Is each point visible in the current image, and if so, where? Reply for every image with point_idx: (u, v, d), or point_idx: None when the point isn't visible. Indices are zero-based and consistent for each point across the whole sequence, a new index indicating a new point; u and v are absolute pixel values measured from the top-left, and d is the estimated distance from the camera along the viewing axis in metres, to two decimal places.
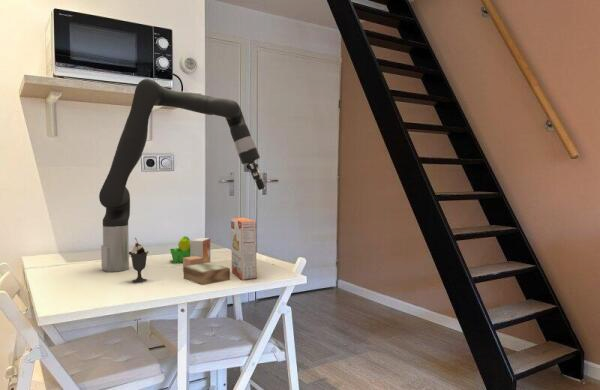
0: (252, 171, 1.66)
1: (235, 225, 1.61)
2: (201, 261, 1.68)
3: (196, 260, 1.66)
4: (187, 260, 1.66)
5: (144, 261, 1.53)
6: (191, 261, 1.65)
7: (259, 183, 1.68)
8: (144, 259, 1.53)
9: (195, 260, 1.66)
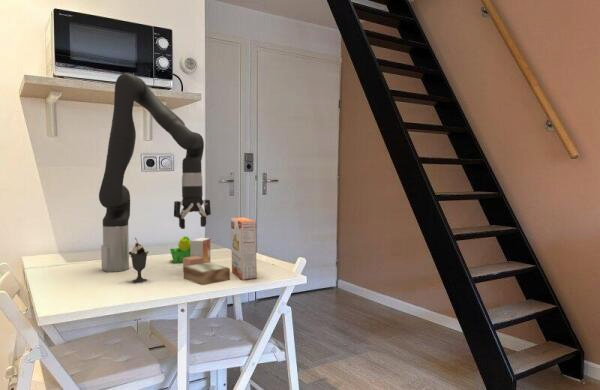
0: (174, 208, 1.63)
1: (235, 225, 1.61)
2: (201, 261, 1.68)
3: (196, 260, 1.66)
4: (187, 260, 1.66)
5: (144, 261, 1.53)
6: (191, 261, 1.65)
7: (180, 222, 1.64)
8: (144, 259, 1.53)
9: (195, 260, 1.66)
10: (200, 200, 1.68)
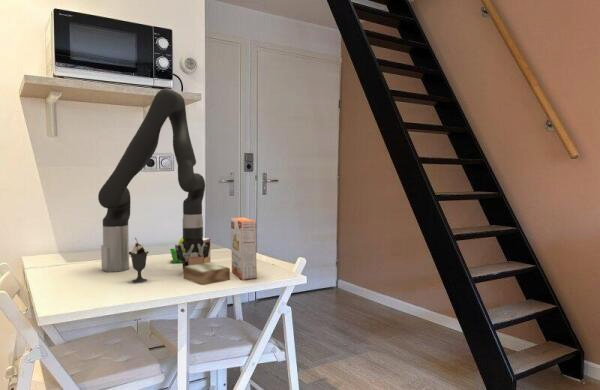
0: (177, 252, 1.64)
1: (235, 225, 1.61)
2: (201, 261, 1.68)
3: (196, 260, 1.66)
4: None
5: (144, 261, 1.53)
6: (191, 261, 1.65)
7: (183, 265, 1.66)
8: (144, 259, 1.53)
9: (195, 260, 1.66)
10: (201, 240, 1.69)
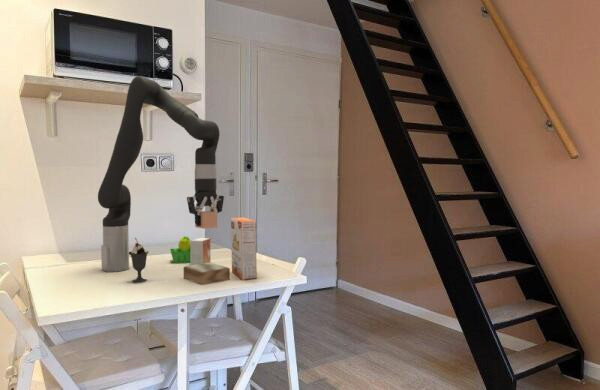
0: (188, 205, 1.53)
1: (235, 225, 1.61)
2: (215, 215, 1.56)
3: (209, 213, 1.55)
4: None
5: (144, 261, 1.53)
6: (204, 214, 1.53)
7: (196, 219, 1.54)
8: (144, 259, 1.53)
9: (208, 213, 1.54)
10: (214, 194, 1.57)
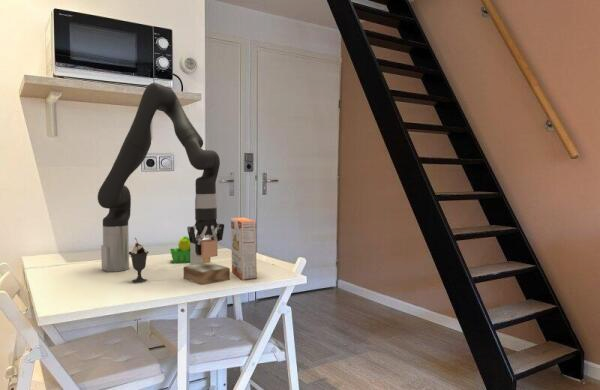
0: (189, 235, 1.53)
1: (235, 225, 1.61)
2: (215, 244, 1.56)
3: (210, 243, 1.55)
4: None
5: (144, 261, 1.53)
6: (205, 244, 1.54)
7: (196, 248, 1.54)
8: (144, 259, 1.53)
9: (209, 243, 1.55)
10: (215, 222, 1.58)
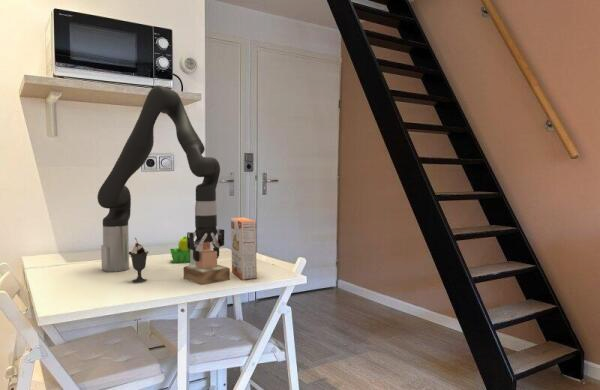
0: (188, 240, 1.53)
1: (235, 225, 1.61)
2: (215, 255, 1.57)
3: (209, 254, 1.55)
4: (200, 254, 1.55)
5: (144, 261, 1.53)
6: (204, 255, 1.54)
7: (194, 255, 1.54)
8: (144, 259, 1.53)
9: (208, 254, 1.55)
10: (214, 229, 1.58)
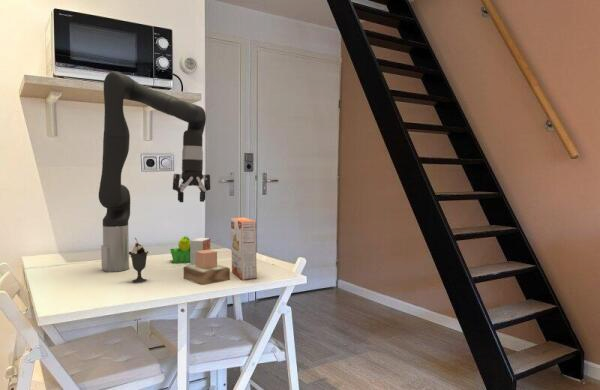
0: (173, 181, 1.61)
1: (235, 225, 1.61)
2: (215, 255, 1.57)
3: (209, 254, 1.55)
4: (200, 254, 1.55)
5: (144, 261, 1.53)
6: (204, 255, 1.54)
7: (178, 195, 1.62)
8: (144, 259, 1.53)
9: (208, 254, 1.55)
10: (200, 174, 1.66)
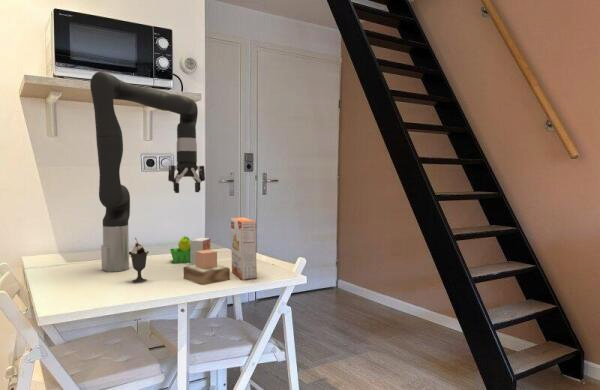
0: (169, 173, 1.65)
1: (235, 225, 1.61)
2: (215, 255, 1.57)
3: (209, 254, 1.55)
4: (200, 254, 1.55)
5: (144, 261, 1.53)
6: (204, 255, 1.54)
7: (174, 186, 1.66)
8: (144, 259, 1.53)
9: (208, 254, 1.55)
10: (194, 165, 1.71)
